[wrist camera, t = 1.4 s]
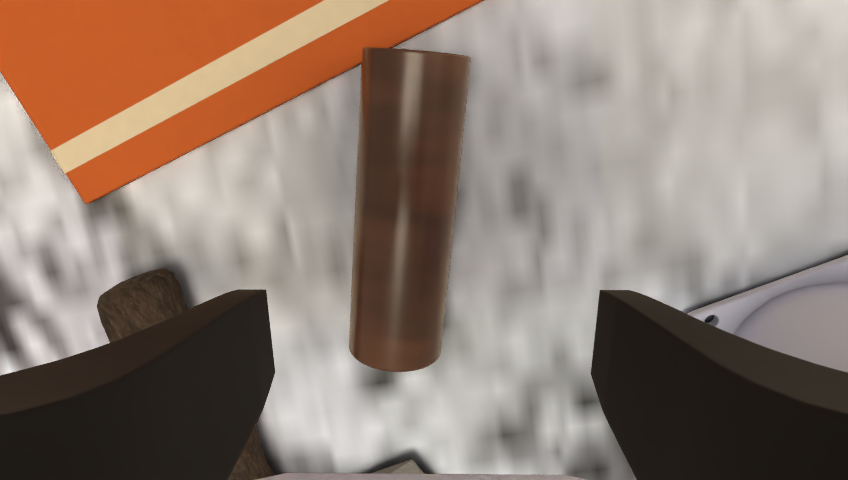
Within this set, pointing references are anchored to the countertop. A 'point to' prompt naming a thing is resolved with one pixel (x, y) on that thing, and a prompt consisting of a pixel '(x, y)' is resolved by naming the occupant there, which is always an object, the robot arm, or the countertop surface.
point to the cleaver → (159, 301)
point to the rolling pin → (405, 203)
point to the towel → (179, 69)
